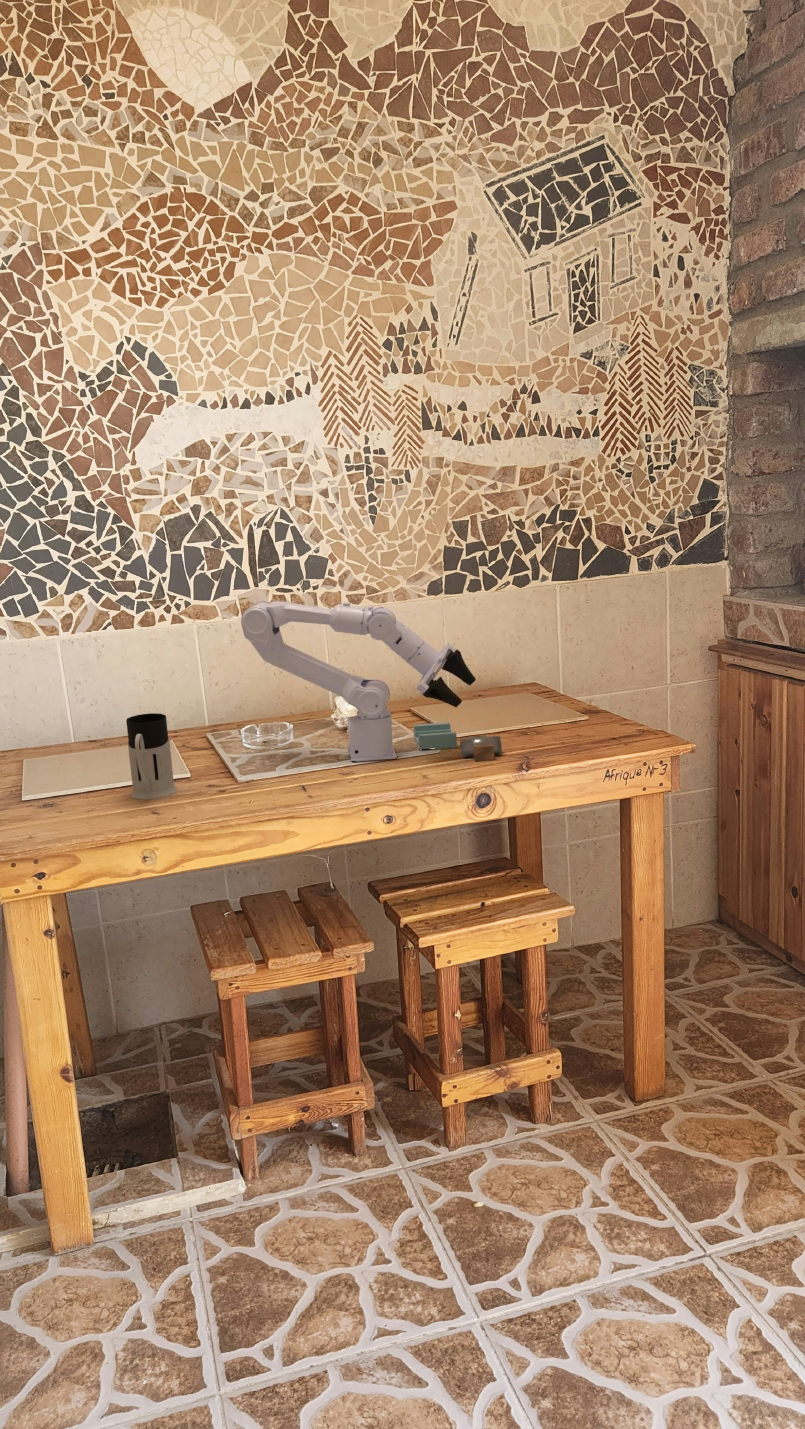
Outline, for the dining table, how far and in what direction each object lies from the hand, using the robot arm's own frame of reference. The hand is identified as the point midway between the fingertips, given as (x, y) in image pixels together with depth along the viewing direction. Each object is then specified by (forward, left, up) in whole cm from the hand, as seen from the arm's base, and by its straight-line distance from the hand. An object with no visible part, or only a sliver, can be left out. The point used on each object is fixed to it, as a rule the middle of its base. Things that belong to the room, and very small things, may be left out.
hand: (466, 693), depth 224 cm
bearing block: (+2, -2, -13) cm, 13 cm away
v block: (-6, +10, -13) cm, 17 cm away
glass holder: (-64, -13, -13) cm, 67 cm away
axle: (+2, -2, -13) cm, 14 cm away
